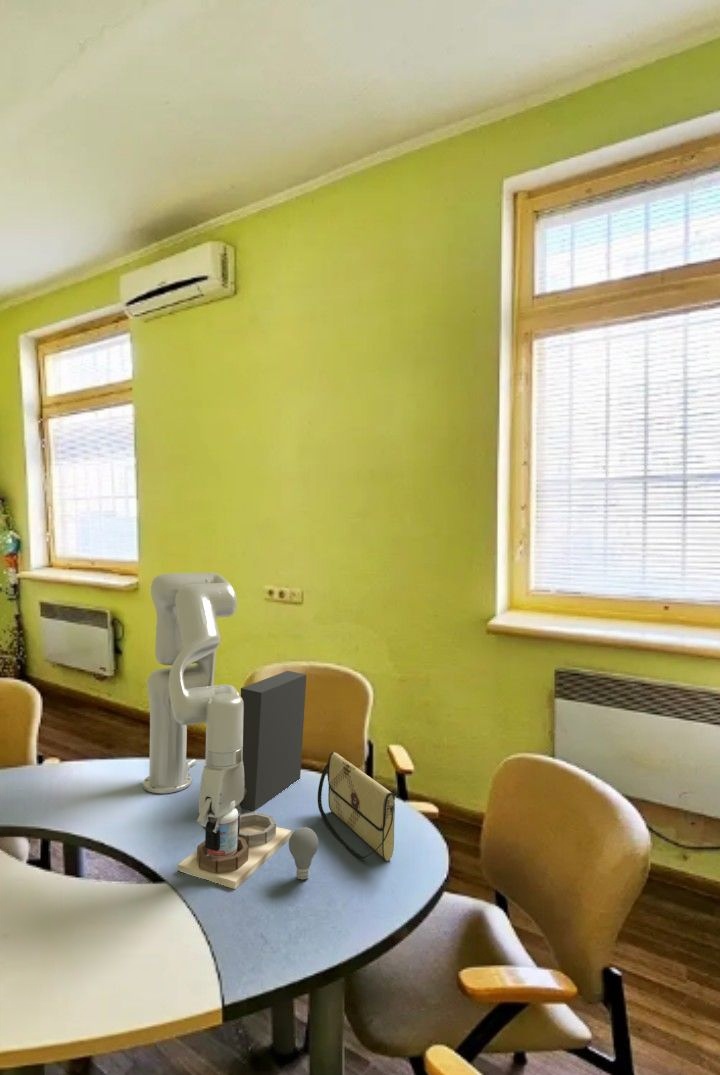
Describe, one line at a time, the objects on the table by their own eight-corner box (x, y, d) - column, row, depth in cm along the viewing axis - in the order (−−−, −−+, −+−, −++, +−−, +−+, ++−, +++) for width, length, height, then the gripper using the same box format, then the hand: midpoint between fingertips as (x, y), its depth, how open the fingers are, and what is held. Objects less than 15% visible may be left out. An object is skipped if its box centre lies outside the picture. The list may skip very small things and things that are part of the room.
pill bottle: (201, 855, 125) (202, 801, 125) (220, 842, 131) (221, 790, 130) (224, 863, 122) (225, 808, 122) (243, 849, 128) (244, 796, 127)
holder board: (239, 823, 144) (239, 807, 144) (291, 836, 139) (291, 819, 139) (177, 871, 124) (178, 852, 124) (235, 889, 119) (235, 869, 118)
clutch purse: (309, 813, 151) (310, 753, 150) (334, 807, 154) (336, 748, 154) (371, 874, 125) (373, 802, 124) (400, 865, 128) (401, 795, 128)
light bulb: (304, 866, 127) (305, 818, 127) (323, 878, 123) (324, 829, 123) (281, 877, 123) (282, 828, 123) (300, 890, 119) (301, 839, 118)
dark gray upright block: (271, 772, 174) (273, 668, 174) (304, 780, 169) (306, 673, 169) (223, 802, 155) (225, 685, 155) (259, 812, 150) (261, 691, 150)
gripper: (233, 739, 135) (231, 819, 136) (182, 767, 119) (180, 857, 120) (262, 744, 132) (260, 826, 133) (213, 774, 117) (211, 866, 117)
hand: (222, 840), depth 126 cm, fingers closed on pill bottle, 6 cm apart
